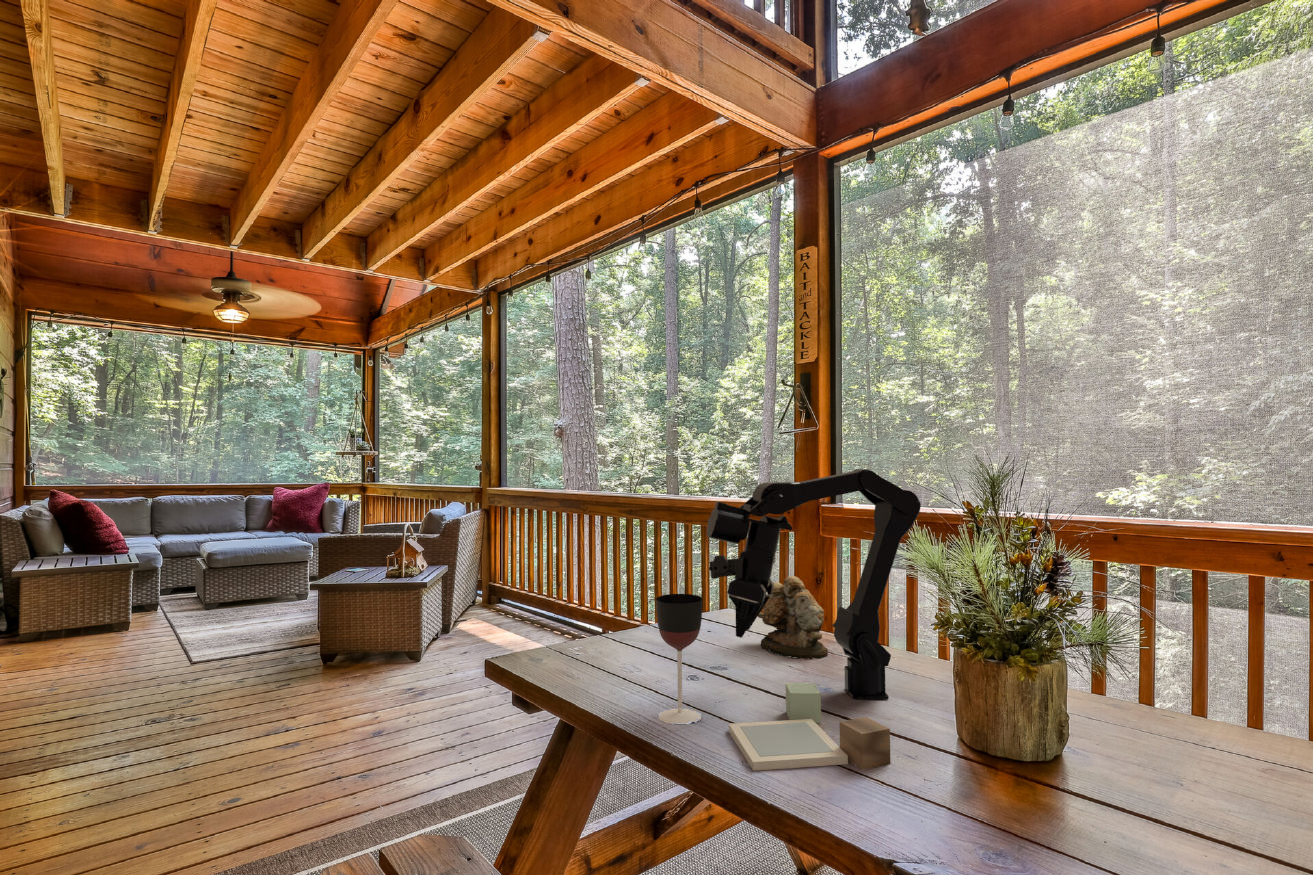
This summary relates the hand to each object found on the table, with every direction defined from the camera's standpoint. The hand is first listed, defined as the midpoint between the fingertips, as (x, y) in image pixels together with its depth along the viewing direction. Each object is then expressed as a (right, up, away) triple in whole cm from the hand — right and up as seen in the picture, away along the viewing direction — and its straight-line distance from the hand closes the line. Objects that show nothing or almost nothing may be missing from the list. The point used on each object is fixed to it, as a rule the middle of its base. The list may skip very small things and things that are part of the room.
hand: (742, 633), depth 121 cm
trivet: (+4, -11, -20) cm, 24 cm away
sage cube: (+9, -12, -8) cm, 17 cm away
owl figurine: (+16, -14, +33) cm, 39 cm away
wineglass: (-12, -12, -8) cm, 19 cm away
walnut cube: (+15, -11, -25) cm, 31 cm away
